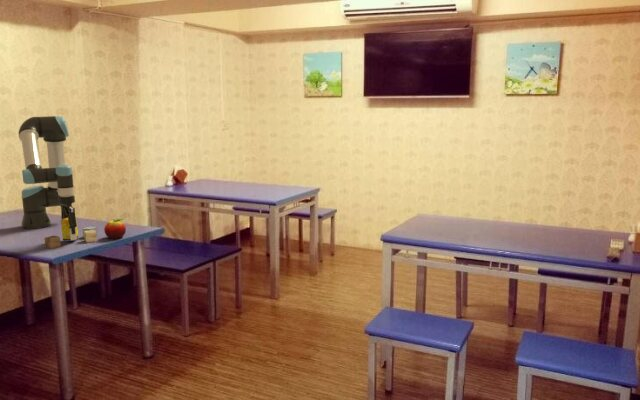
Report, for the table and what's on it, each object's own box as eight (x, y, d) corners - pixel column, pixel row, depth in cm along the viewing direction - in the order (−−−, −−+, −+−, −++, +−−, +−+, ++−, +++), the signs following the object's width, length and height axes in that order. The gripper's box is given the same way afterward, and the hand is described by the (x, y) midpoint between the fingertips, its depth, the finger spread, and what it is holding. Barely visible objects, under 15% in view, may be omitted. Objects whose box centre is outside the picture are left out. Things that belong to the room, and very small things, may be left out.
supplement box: (66, 237, 275) (64, 217, 273) (78, 237, 276) (76, 217, 274) (62, 240, 270) (60, 219, 267) (74, 240, 270) (72, 219, 268)
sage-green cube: (83, 237, 281) (82, 228, 280) (89, 235, 285) (88, 226, 284) (91, 238, 279) (90, 229, 278) (97, 236, 284) (96, 227, 283)
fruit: (102, 237, 281) (100, 219, 279) (123, 234, 287) (121, 216, 285) (108, 241, 272) (106, 222, 271) (129, 237, 279) (127, 219, 277)
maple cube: (84, 240, 274) (84, 231, 274) (95, 239, 277) (94, 230, 276) (86, 242, 270) (85, 233, 269) (97, 241, 273) (96, 231, 272)
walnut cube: (45, 247, 262) (44, 237, 261) (54, 245, 266) (53, 235, 265) (51, 248, 260) (50, 238, 259) (60, 246, 264) (59, 236, 263)
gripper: (51, 193, 273) (56, 235, 278) (65, 199, 258) (70, 243, 263) (66, 191, 278) (71, 233, 283) (81, 197, 263) (85, 240, 268)
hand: (70, 238), depth 273 cm, fingers closed on supplement box, 8 cm apart
